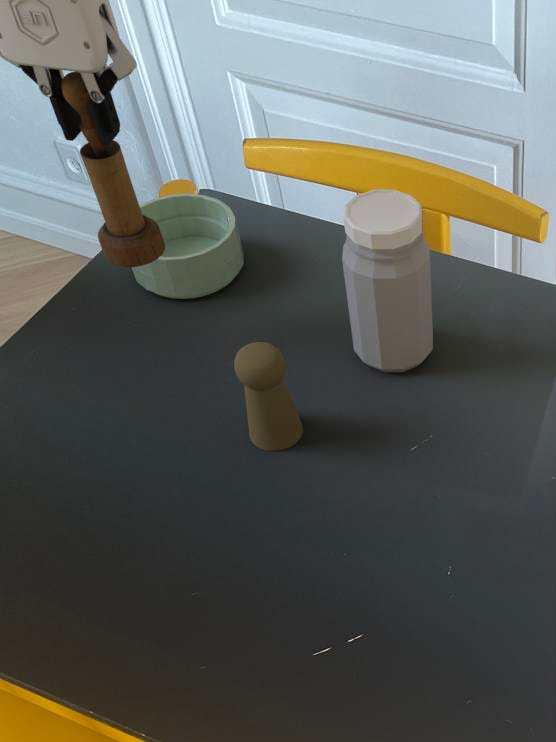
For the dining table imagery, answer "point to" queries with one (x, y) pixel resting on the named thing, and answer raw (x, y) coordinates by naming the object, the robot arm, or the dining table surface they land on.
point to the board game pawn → (267, 397)
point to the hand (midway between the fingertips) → (93, 134)
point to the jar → (388, 280)
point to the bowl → (192, 247)
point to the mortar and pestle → (113, 190)
